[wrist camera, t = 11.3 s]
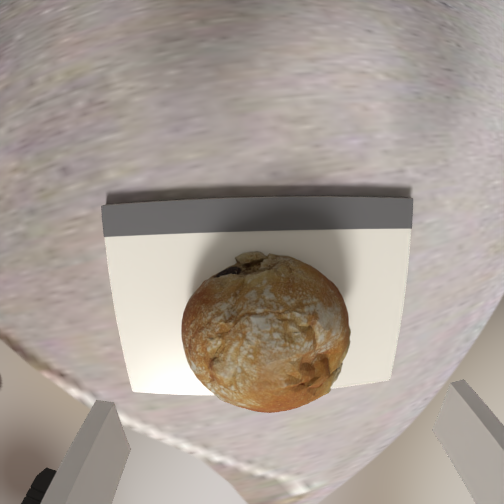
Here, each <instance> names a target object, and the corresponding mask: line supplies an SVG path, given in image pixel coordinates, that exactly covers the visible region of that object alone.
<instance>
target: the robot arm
mask: <svg viewBox="0 0 504 504" xmlns="http://www.w3.org/2000/svg"><path fill="white" fill-rule="evenodd" d="M432 431H433V432H434V434H435V435H436V437H437V439H438V440H439V442H440V444H441V445H442V447H443V449H444V450H445V452H446V453H447V455H448V457H449V458H450V460H451V462H452V463H453V465H454V467H455V468H456V470H457V472H458V474H459V475H460V477H461V479H462V481H463V482H464V484H465V486H466V487H467V489H468V491H469V493H470V494H471V496H472V498H473V500H474V502H475V503H476V504H504V426H503V424H502V423H501V422H500V421H499V420H498V418H497V417H496V416H495V415H494V414H493V412H492V411H491V410H490V409H489V408H488V406H487V405H486V404H485V403H484V402H483V401H482V399H481V398H480V397H479V396H478V395H477V394H476V392H475V391H474V390H473V389H472V388H471V387H470V386H469V385H468V383H467V382H466V381H465V380H460V381H456V382H452V383H450V385H449V388H448V391H447V394H446V396H445V399H444V402H443V404H442V407H441V410H440V412H439V415H438V417H437V420H436V422H435V424H434V427H433V429H432ZM130 450H131V448H130V445H129V443H128V441H127V438H126V435H125V432H124V430H123V427H122V424H121V421H120V419H119V416H118V413H117V410H116V407H115V404H114V402H107V401H100V400H96V402H95V403H94V405H93V407H92V409H91V411H90V412H89V414H88V416H87V418H86V419H85V421H84V423H83V425H82V426H81V428H80V430H79V432H78V433H77V435H76V437H75V439H74V441H73V442H72V444H71V446H70V448H69V450H68V452H67V453H66V455H65V457H64V459H63V461H62V463H61V465H60V466H59V469H58V470H57V471H55V470H52V469H49V468H46V469H44V470H43V471H42V472H41V473H39V475H37V476H36V478H35V480H34V481H33V483H32V485H31V489H29V490H28V492H27V494H26V497H25V498H24V500H23V502H22V503H21V504H112V501H113V498H114V495H115V492H116V490H117V486H118V484H119V481H120V478H121V475H122V473H123V470H124V467H125V464H126V461H127V459H128V456H129V453H130Z"/></svg>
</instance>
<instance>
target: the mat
mask: <svg viewBox="0 0 504 504" xmlns="http://www.w3.org/2000/svg"><path fill="white" fill-rule="evenodd" d="M101 210H102V222H103V233H104V237H105V246H106V254H107V262H108V270H109V277H110V284H111V291H112V297H113V303H114V309H115V314H116V320H117V325H118V330H119V335H120V340H121V345H122V349H123V354H124V358H125V363H126V367H127V371H128V375H129V379H130V383H131V387H132V391H133V392H142V393H157V394H178V395H214V394H213V393H212V392H211V391H210V390H208V389H207V388H206V387H205V386H203V384H202V383H201V381H199V380H198V379H197V377H196V376H195V374H194V373H193V371H192V370H191V368H190V366H189V364H188V362H187V359H186V355H185V352H184V348H183V342H182V337H181V324H182V318H183V313H184V310H185V307H186V304H187V302H188V300H189V298H190V297H191V296H192V295H193V293H194V292H195V291H196V290H197V289H198V288H199V287H200V285H201V284H202V283H203V281H205V280H208V279H209V278H210V277H211V276H213V275H215V274H217V273H219V272H221V271H222V270H224V269H225V268H227V267H229V266H231V265H234V264H236V263H237V262H236V260H235V257H237V256H238V255H240V254H242V253H245V252H255V251H259V252H262V253H263V254H264V255H266V256H267V255H268V254H269V253H270V254H275V255H284V256H290V257H293V258H295V259H297V260H300V261H302V262H304V263H306V264H308V265H311V266H312V267H314V268H315V269H317V270H318V271H319V272H321V273H322V274H323V275H324V276H326V277H327V278H328V279H329V280H330V281H332V282H333V283H334V284H335V285H336V287H337V288H338V289H339V291H340V293H341V295H342V297H343V299H344V302H345V305H346V307H347V311H348V316H349V327H350V330H351V334H350V341H351V342H350V346H349V349H348V352H347V355H346V357H345V359H344V360H343V362H342V363H343V365H342V368H341V372H340V374H339V376H338V379H337V380H336V381H335V382H334V383H333V385H332V386H331V387H330V389H332V388H341V387H348V386H356V385H363V384H370V383H376V382H382V381H388V380H390V377H391V372H392V367H393V363H394V358H395V353H396V347H397V342H398V336H399V331H400V325H401V318H402V312H403V305H404V298H405V290H406V281H407V272H408V262H409V251H410V238H411V229H412V216H413V198H402V197H365V196H268V197H230V198H204V199H183V200H165V201H149V202H134V203H121V204H108V205H102V206H101Z"/></svg>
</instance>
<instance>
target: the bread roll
mask: <svg viewBox="0 0 504 504" xmlns="http://www.w3.org/2000/svg"><path fill="white" fill-rule="evenodd" d="M235 260H236V262H237V263H236V264H234V265H231V266H229V267H227V268H225V269H224V270H222V271H221V272H219V273H217V274H215V275H213V276H211V277H210V278H209V279H208V280H205V281H203V283H202V284H201V285H200V287H199V288H198V289H197V290H196V291H195V292H194V293H193V295H192V296H191V297H190V298H189V300H188V302H187V304H186V307H185V310H184V313H183V318H182V324H181V337H182V342H183V348H184V352H185V355H186V359H187V362H188V364H189V366H190V368H191V370H192V371H193V373H194V374H195V376H196V377H197V379H198V380H199V381H201V383H202V384H203V386H205V387H206V388H207V389H208V390H210V391H211V392H212V393H213V394H214V395H216V396H217V397H218V398H219V399H220V400H222V401H224V402H227V403H230V404H233V405H235V406H238V407H242V408H246V409H249V410H252V411H257V412H267V413H272V412H280V411H287V410H291V409H294V408H298V407H300V406H303V405H305V404H308V403H309V402H311V401H314V400H316V399H318V398H319V397H321V396H323V395H325V394H327V393H329V392H330V390H331V389H330V387H331V386H332V385H333V383H334V382H335V381H336V380H337V379H338V376H339V374H340V372H341V368H342V365H343V363H342V362H343V360H344V359H345V357H346V355H347V352H348V349H349V346H350V342H351V341H350V334H351V330H350V327H349V316H348V311H347V307H346V305H345V302H344V299H343V297H342V295H341V293H340V291H339V289H338V288H337V287H336V285H335V284H334V283H333V282H332V281H330V280H329V279H328V278H327V277H326V276H324V275H323V274H322V273H321V272H319V271H318V270H317V269H315V268H314V267H312V266H311V265H308V264H306V263H304V262H302V261H300V260H297V259H295V258H293V257H290V256H284V255H275V254H270V253H269V254H268V255H267V256H266V255H264V254H263V253H262V252H259V251H255V252H245V253H242V254H240V255H238V256H237V257H235Z"/></svg>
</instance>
